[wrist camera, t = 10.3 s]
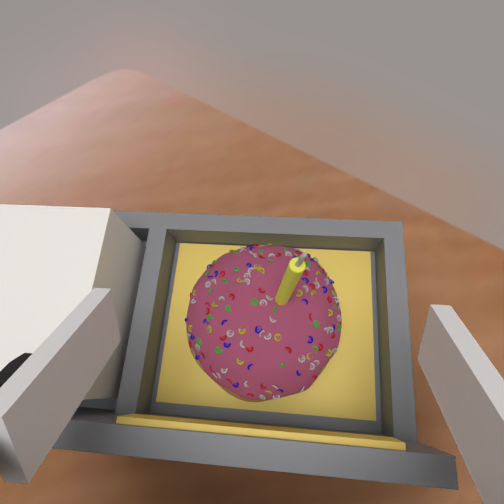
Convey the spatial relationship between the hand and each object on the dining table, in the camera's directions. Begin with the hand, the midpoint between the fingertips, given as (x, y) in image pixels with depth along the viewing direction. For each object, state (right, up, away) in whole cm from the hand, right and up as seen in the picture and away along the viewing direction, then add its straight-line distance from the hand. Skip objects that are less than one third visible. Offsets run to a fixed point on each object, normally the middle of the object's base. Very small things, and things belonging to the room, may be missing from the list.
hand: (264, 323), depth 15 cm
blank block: (-12, -1, +10) cm, 16 cm away
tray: (-4, -2, +11) cm, 12 cm away
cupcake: (0, -2, +9) cm, 9 cm away
